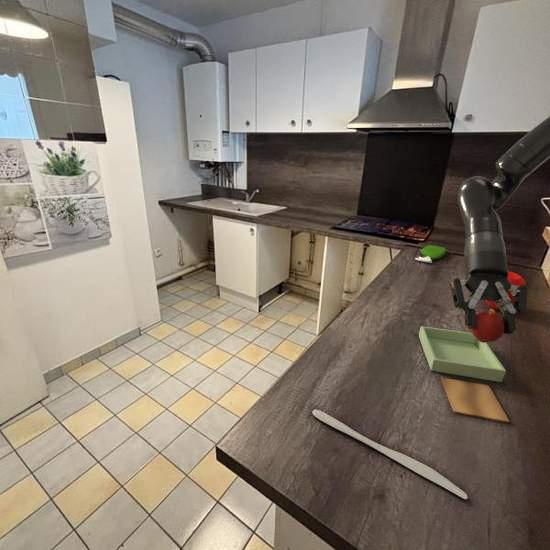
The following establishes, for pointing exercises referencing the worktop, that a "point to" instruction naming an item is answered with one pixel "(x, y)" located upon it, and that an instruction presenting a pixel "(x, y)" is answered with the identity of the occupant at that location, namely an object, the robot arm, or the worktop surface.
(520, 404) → the worktop surface
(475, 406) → the cork mat
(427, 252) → the spray bottle
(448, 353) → the tray
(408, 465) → the butter knife
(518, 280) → the apple
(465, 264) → the robot arm
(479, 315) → the red rounded piece
